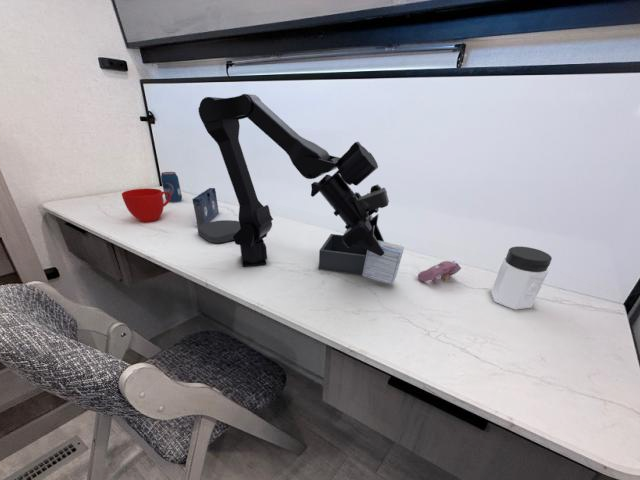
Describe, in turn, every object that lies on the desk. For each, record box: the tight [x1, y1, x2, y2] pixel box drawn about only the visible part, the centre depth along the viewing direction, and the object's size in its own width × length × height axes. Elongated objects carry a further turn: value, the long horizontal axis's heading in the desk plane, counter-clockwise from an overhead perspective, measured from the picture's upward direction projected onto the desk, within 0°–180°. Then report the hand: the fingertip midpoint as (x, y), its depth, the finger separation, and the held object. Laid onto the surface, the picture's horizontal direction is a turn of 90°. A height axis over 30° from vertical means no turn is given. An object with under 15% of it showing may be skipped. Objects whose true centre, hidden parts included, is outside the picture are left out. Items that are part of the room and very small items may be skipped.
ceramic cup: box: [121, 187, 170, 223], centre depth 114 cm, size 13×17×10 cm
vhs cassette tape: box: [192, 187, 220, 228], centre depth 114 cm, size 18×3×10 cm, turn 178°
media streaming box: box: [197, 219, 241, 244], centre depth 103 cm, size 15×15×3 cm
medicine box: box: [361, 240, 405, 285], centre depth 74 cm, size 8×4×9 cm, turn 68°
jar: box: [490, 246, 553, 310], centre depth 69 cm, size 9×8×12 cm
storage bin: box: [318, 233, 367, 276], centre depth 86 cm, size 14×14×6 cm
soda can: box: [160, 171, 183, 203], centre depth 136 cm, size 7×7×12 cm
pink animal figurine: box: [417, 260, 462, 284], centre depth 78 cm, size 10×5×7 cm, turn 118°
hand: (383, 250), depth 73 cm, fingers closed on medicine box, 5 cm apart
